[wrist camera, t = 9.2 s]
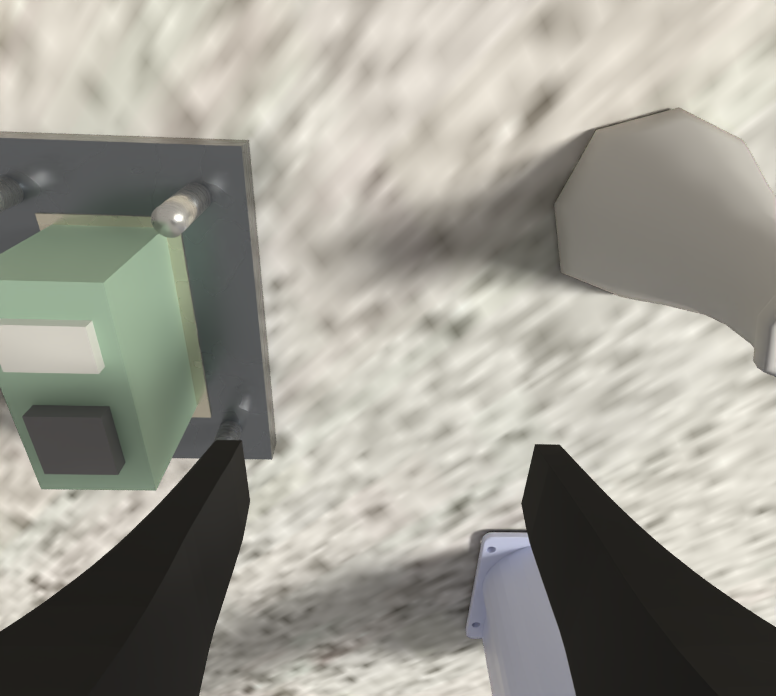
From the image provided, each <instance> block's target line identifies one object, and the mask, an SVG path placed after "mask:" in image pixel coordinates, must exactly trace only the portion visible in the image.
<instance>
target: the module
mask: <svg viewBox="0 0 776 696" xmlns="http://www.w3.org/2000/svg"><path fill="white" fill-rule="evenodd" d="M0 388H1V391H2V393H3V395H4V398H5V400H6V403H7V405H8V408H9V410H10V413H11V415H12V418H13V420H14V423H15V425H16V428H17V430H18V433H19V435H20V438H21V440H22V442H23V445H24V447H25V450H26V452H27V455H28V457H29V460H30V462H31V465H32V467H33V470H34V472H35V475H36V477H37V480H38V482H39V485H40V487H41V489H77V490H157V488H158V486H159V483H160V481H161V479H162V477H163V475H164V473H165V471H166V469H167V467H168V465H169V463H170V461H171V459H172V457H173V455H174V453H175V451H176V448H177V446H178V444H179V442H180V440H181V438H182V436H183V434H184V432H185V430H186V428H187V426H188V424H189V422H190V420H191V418H192V416H193V413H194V411H195V409H196V407H197V403H196V398H195V392H194V387H193V381H192V376H191V370H190V365H189V359H188V354H187V348H186V342H185V337H184V331H183V326H182V320H181V315H180V309H179V304H178V298H177V292H176V287H175V281H174V276H173V270H172V265H171V259H170V254H169V248H168V243H167V237H164V236H162V235H160V234H159V233H158V232H157V231H156V230H155V229H154V228H153V227H119V226H84V225H50V226H48V227H47V228H45V229H43V230H41V231H40V232H38V233H36V234H34V235H33V236H31V237H29V238H27V239H26V240H24V241H22V242H20V243H19V244H17V245H15V246H13V247H12V248H10V249H8V250H6V251H5V252H3V253H1V254H0Z"/></svg>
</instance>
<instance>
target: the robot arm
mask: <svg viewBox="0 0 776 696" xmlns="http://www.w3.org/2000/svg"><path fill="white" fill-rule="evenodd" d="M249 504H250V497H249V490H248V482H247V475H246V467H245V459H244V452H243V444H242V440H216V441H215V442H214V443H212V445H211V446H210V447H209V448H208V449H207V451H206V452H205V453H204V454H203V455H202V456H201V458H200V459H199V460H198V461H197V462H196V464H195V465H194V466H193V467H192V468H191V469H190V470H189V472H188V473H187V474H186V475H185V476H184V477H183V478H182V480H181V481H180V482H179V483H178V484H177V485H176V486H175V487H174V488H173V489H172V490H171V492H170V493H169V494H168V495H167V496H166V497H165V498H164V499H163V500H162V501H161V502H160V503H159V504H158V505H157V506H156V507H155V509H154V510H152V511H151V512H150V513H149V514H148V515H147V516H146V517H145V518H144V519H143V520H142V521H141V522H140V523H139V524H138V525H137V526H136V527H135V528H134V529H133V530H132V531H131V532H130V533H129V534H128V535H127V536H126V537H125V538H124V539H122V540H121V541H120V542H119V543H118V544H117V545H116V546H115V547H114V548H112V549H111V550H110V551H109V552H108V553H107V554H105V555H104V556H103V557H102V558H101V559H100V560H98V561H97V562H96V563H95V564H94V565H92V566H91V567H90V568H89V569H87V570H86V571H85V572H84V573H82V574H81V575H80V576H79V577H77V578H76V579H75V580H73V581H72V582H71V583H69V584H68V585H67V586H65V587H64V588H63V589H61V590H60V591H59V592H57V593H56V594H55V595H53V596H52V597H51V598H49V599H48V600H47V601H45V602H44V603H42V604H41V605H40V606H38V607H37V608H35V609H34V610H32V611H31V612H29V613H28V614H26V615H25V616H23V617H22V618H20V619H19V620H17V621H16V622H14V623H13V624H11V625H10V626H8V627H7V628H5V629H3V630H2V631H0V696H199V693H200V688H201V684H202V679H203V675H204V670H205V665H206V661H207V656H208V652H209V648H210V644H211V640H212V637H213V633H214V629H215V626H216V623H217V620H218V617H219V614H220V610H221V607H222V604H223V601H224V598H225V595H226V592H227V588H228V585H229V582H230V579H231V576H232V573H233V570H234V566H235V563H236V560H237V557H238V554H239V550H240V547H241V544H242V540H243V536H244V531H245V526H246V520H247V515H248V509H249ZM521 504H522V509H523V514H524V519H525V524H526V529H527V533H525V532H490V533H487V534H485V535H484V536H483V538H482V543H481V548H480V554H479V559H478V564H477V570H476V575H475V581H474V586H473V591H472V597H471V602H470V607H469V613H468V618H467V623H466V635H467V637H469V638H473V639H482V640H483V646H484V651H485V657H486V663H487V668H488V674H489V679H490V685H491V690H492V696H776V627H775V626H773V625H772V624H770V623H768V622H767V621H765V620H763V619H762V618H760V617H759V616H757V615H756V614H754V613H753V612H751V611H750V610H748V609H746V608H745V607H743V606H742V605H740V604H739V603H738V602H736V601H735V600H733V599H732V598H730V597H729V596H727V595H726V594H725V593H723V592H722V591H720V590H719V589H717V588H716V587H714V586H713V585H712V584H710V583H709V582H708V581H706V580H705V579H703V578H702V577H701V576H699V575H698V574H697V573H695V572H694V571H693V570H692V569H690V568H689V567H688V566H687V565H685V564H684V563H683V562H681V561H680V560H679V559H678V558H676V557H675V556H674V555H673V554H671V553H670V552H669V551H668V550H666V549H665V548H664V547H663V546H662V545H661V544H659V543H658V542H657V541H656V540H655V539H654V538H652V537H651V536H650V535H649V534H648V533H647V532H646V531H645V530H644V529H642V528H641V527H640V526H639V525H638V524H637V523H636V522H635V521H634V520H633V519H631V518H630V517H629V516H628V515H627V514H626V513H625V512H624V511H623V510H622V509H621V508H620V507H619V506H618V505H617V504H616V503H615V502H614V501H613V500H612V499H611V498H610V497H609V496H608V495H607V494H606V493H605V492H604V491H603V490H602V489H601V488H600V487H599V486H598V485H597V484H596V483H595V482H594V481H593V480H592V479H591V478H590V476H589V475H588V474H587V473H586V472H585V471H584V470H583V469H582V468H581V467H580V466H579V465H578V464H577V463H576V462H575V461H574V459H573V458H572V457H571V456H570V455H569V454H568V453H567V452H566V451H565V450H564V449H563V448H562V447H561V446H560V445H545V444H535V447H534V451H533V456H532V460H531V464H530V469H529V473H528V477H527V482H526V486H525V490H524V495H523V499H522V503H521Z"/></svg>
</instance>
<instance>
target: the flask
mask: <svg viewBox="0 0 776 696" xmlns="http://www.w3.org/2000/svg"><path fill="white" fill-rule="evenodd" d="M554 209H555V218H556V228H557V238H558V248H559V258H560V268H561V273H563V274H566V275H568V276H571V277H573V278H576V279H578V280H581V281H583V282H586V283H588V284H591V285H593V286H596V287H598V288H600V289H603V290H605V291H608V292H610V293H613V294H615V295H618V296H621V297H625V298H629V299H634V300H639V301H645V302H651V303H656V304H662V305H667V306H671V307H675V308H679V309H683V310H687V311H691V312H696V313H700V314H704V315H707V316H709V317H711V318H713V319H715V320H717V321H719V322H721V323H724V324H726V325H727V326H728V327H730V328H731V329H732V330H733V331H735V332H736V333H737V334H739V335H740V336H741V337H742V338H744V339H745V340H746V341H748V342H749V343H750V344H751V345H752V346H753V347H754V356H753V361H754V363H755V364H756V366H757V368H759V369H760V370H762V371H763V372H765V373H767V374H770V375H773V376H775V377H776V195H775V194H774V192H773V191H772V189H771V188H770V186H769V185H768V183H767V181H766V179H765V177H764V176H763V174H762V172H761V170H760V168H759V166H758V164H757V163H756V161H755V159H754V157H753V155H752V153H751V151H750V150H749V148H748V147H747V145H746V144H745V142H744V141H743V140H742V139H740V138H738V137H736V136H734V135H732V134H730V133H728V132H726V131H724V130H722V129H720V128H718V127H716V126H714V125H712V124H710V123H708V122H706V121H705V120H703V119H701V118H699V117H697V116H695V115H693V114H691V113H689V112H687V111H685V110H683V109H681V108H675V109H672V110H668V111H664V112H660V113H657V114H653V115H649V116H646V117H642V118H638V119H635V120H631V121H627V122H624V123H620V124H616V125H613V126H609V127H605V128H602V129H598V130H596V131H595V133H594V135H593V136H592V138H591V140H590V142H589V144H588V145H587V147H586V149H585V151H584V152H583V154H582V156H581V158H580V160H579V161H578V163H577V165H576V167H575V168H574V170H573V172H572V174H571V176H570V177H569V179H568V181H567V183H566V184H565V186H564V188H563V190H562V192H561V193H560V195H559V197H558V199H557V200H556V202H555V204H554Z"/></svg>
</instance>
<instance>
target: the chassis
mask: <svg viewBox="0 0 776 696" xmlns="http://www.w3.org/2000/svg"><path fill="white" fill-rule="evenodd" d="M50 225H84V226H119V227H153V228H154V229H155V230H156V231H157V232H158V233H159V234H160V235H162V236H164V237H167V243H168V248H169V254H170V259H171V265H172V270H173V276H174V281H175V287H176V292H177V298H178V304H179V309H180V315H181V320H182V326H183V331H184V337H185V342H186V348H187V354H188V359H189V365H190V370H191V376H192V381H193V387H194V392H195V398H196V403H197V407H196V409H195V411H194V413H193V416H192V418H191V420H190V422H189V424H188V426H187V428H186V430H185V432H184V434H183V436H182V438H181V440H180V442H179V444H178V446H177V448H176V451H175V453H174V455H173V457H172V458H201V456H202V455H203V454H204V453H205V452H206V451H207V449H208V448H209V447H210V446H211V445H212V443H214V442H215V441H216V440H242V444H243V452H244V459H272V458H273V454H274V450H275V446H276V434H275V423H274V412H273V401H272V390H271V379H270V368H269V357H268V346H267V335H266V324H265V313H264V302H263V291H262V280H261V269H260V258H259V247H258V236H257V225H256V214H255V203H254V192H253V181H252V170H251V159H250V148H249V140H225V139H196V138H168V137H139V136H111V135H83V134H54V133H26V132H0V254H1V253H3V252H5V251H6V250H8V249H10V248H12V247H13V246H15V245H17V244H19V243H20V242H22V241H24V240H26V239H27V238H29V237H31V236H33V235H34V234H36V233H38V232H40V231H41V230H43V229H45V228H47V227H48V226H50Z"/></svg>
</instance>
